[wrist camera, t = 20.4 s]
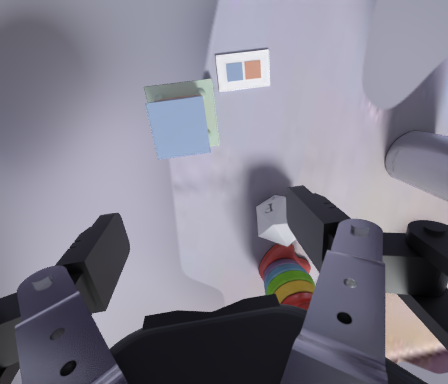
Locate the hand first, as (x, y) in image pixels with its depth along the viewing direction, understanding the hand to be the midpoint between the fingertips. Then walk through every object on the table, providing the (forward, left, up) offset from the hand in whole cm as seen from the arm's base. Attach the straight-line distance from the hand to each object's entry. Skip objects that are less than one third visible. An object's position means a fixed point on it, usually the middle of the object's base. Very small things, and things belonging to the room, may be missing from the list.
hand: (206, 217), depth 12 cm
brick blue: (+2, -2, -23) cm, 23 cm away
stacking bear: (-13, +31, -30) cm, 45 cm away
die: (-12, +17, -30) cm, 37 cm away
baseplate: (+2, -2, -30) cm, 30 cm away
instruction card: (-8, -8, -30) cm, 32 cm away
